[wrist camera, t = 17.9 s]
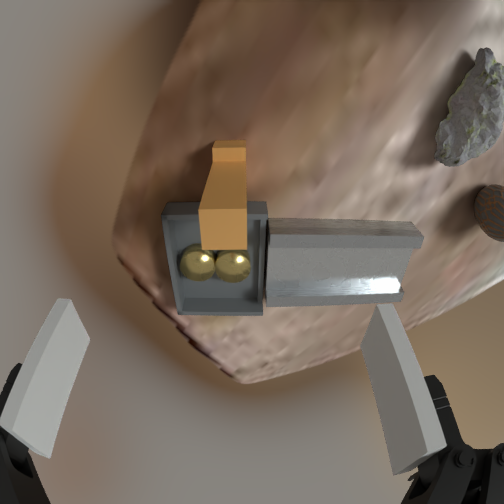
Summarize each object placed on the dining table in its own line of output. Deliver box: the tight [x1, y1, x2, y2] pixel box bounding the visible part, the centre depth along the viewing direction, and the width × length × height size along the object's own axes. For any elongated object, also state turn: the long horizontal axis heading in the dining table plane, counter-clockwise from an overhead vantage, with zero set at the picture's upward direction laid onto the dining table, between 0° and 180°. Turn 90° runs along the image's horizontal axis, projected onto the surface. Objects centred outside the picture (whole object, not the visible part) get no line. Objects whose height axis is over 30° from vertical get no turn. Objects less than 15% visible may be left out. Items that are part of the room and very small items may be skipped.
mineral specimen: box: [434, 48, 504, 167], centre depth 23 cm, size 16×7×7 cm, turn 153°
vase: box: [474, 185, 504, 242], centre depth 29 cm, size 7×7×9 cm
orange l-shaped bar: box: [198, 140, 247, 250], centre depth 25 cm, size 6×3×13 cm, turn 0°
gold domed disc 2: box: [215, 250, 251, 283], centre depth 36 cm, size 4×4×2 cm
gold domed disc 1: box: [180, 243, 216, 281], centre depth 35 cm, size 4×4×2 cm
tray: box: [161, 202, 268, 316], centre depth 35 cm, size 14×11×3 cm
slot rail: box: [265, 218, 424, 307], centre depth 35 cm, size 10×18×4 cm, turn 89°
